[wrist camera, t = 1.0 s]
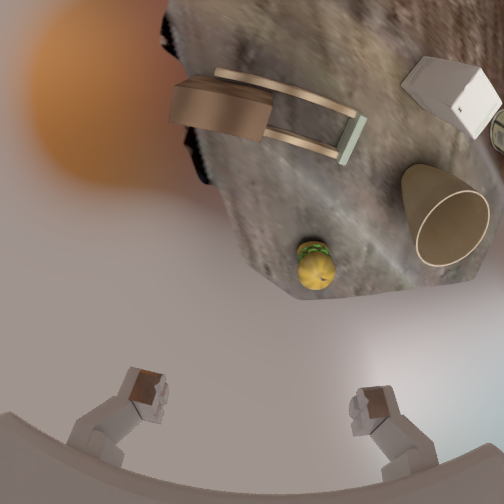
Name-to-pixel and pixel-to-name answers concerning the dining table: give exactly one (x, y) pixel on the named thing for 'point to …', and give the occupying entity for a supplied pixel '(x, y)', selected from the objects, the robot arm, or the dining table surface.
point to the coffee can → (498, 131)
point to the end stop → (350, 137)
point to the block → (222, 107)
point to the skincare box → (453, 93)
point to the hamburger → (315, 265)
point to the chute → (297, 92)
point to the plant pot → (442, 214)
